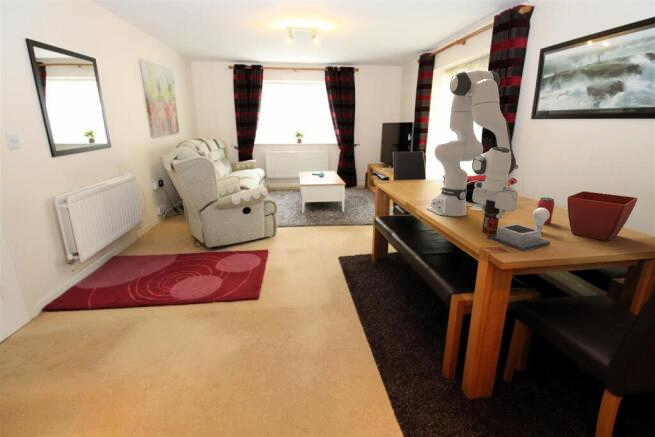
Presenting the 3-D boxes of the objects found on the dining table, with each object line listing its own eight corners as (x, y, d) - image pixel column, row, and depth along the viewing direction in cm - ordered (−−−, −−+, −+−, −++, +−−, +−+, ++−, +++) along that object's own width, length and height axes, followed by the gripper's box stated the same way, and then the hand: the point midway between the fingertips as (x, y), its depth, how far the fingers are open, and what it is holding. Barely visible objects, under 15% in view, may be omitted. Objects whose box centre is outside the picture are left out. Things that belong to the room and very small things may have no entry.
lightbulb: (548, 231, 143) (553, 208, 140) (542, 234, 140) (547, 210, 137) (533, 228, 148) (537, 205, 145) (527, 230, 145) (531, 207, 142)
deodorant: (479, 232, 143) (484, 200, 139) (485, 229, 147) (489, 198, 143) (493, 235, 139) (498, 202, 135) (498, 232, 143) (503, 200, 139)
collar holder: (487, 238, 136) (488, 226, 135) (513, 233, 142) (515, 221, 141) (521, 251, 122) (524, 237, 121) (549, 244, 128) (552, 231, 126)
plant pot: (559, 233, 141) (566, 196, 136) (575, 225, 152) (582, 190, 147) (614, 246, 126) (625, 204, 121) (628, 236, 137) (638, 197, 132)
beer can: (553, 224, 153) (558, 200, 149) (538, 224, 154) (542, 200, 151) (547, 220, 159) (551, 197, 156) (532, 220, 160) (536, 197, 157)
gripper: (523, 189, 129) (518, 221, 133) (482, 181, 147) (478, 210, 151) (512, 190, 127) (507, 223, 131) (471, 182, 145) (468, 211, 149)
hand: (491, 216), depth 141 cm, fingers closed on deodorant, 6 cm apart
